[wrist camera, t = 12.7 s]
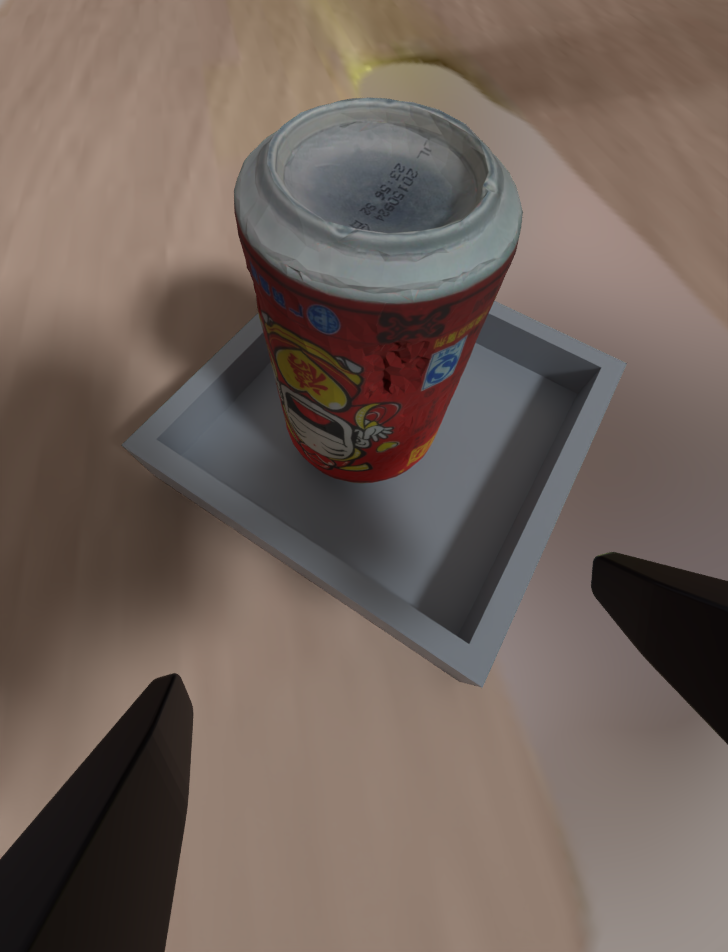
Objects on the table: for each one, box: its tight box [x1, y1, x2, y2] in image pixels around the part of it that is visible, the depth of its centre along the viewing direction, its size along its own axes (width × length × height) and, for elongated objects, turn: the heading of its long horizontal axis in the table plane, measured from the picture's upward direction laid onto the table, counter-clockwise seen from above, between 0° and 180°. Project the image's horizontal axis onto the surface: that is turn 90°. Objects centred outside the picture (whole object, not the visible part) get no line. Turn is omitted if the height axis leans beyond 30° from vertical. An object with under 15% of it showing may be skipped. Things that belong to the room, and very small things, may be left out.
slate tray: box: [122, 301, 627, 687], centre depth 20 cm, size 17×17×3 cm
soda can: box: [234, 98, 523, 484], centre depth 14 cm, size 7×7×12 cm
